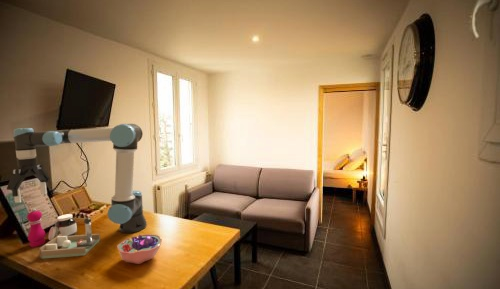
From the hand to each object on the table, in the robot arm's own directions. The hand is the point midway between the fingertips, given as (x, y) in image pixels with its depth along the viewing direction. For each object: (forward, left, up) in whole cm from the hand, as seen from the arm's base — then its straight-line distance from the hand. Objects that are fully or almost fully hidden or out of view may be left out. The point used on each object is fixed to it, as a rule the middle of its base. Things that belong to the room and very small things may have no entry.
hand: (31, 197), depth 123 cm
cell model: (-60, +22, -27) cm, 69 cm away
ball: (-19, +7, -23) cm, 31 cm away
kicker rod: (-28, +7, -25) cm, 38 cm away
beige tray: (-21, +7, -26) cm, 35 cm away
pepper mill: (+1, -1, -27) cm, 27 cm away
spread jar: (-7, -8, -27) cm, 29 cm away
